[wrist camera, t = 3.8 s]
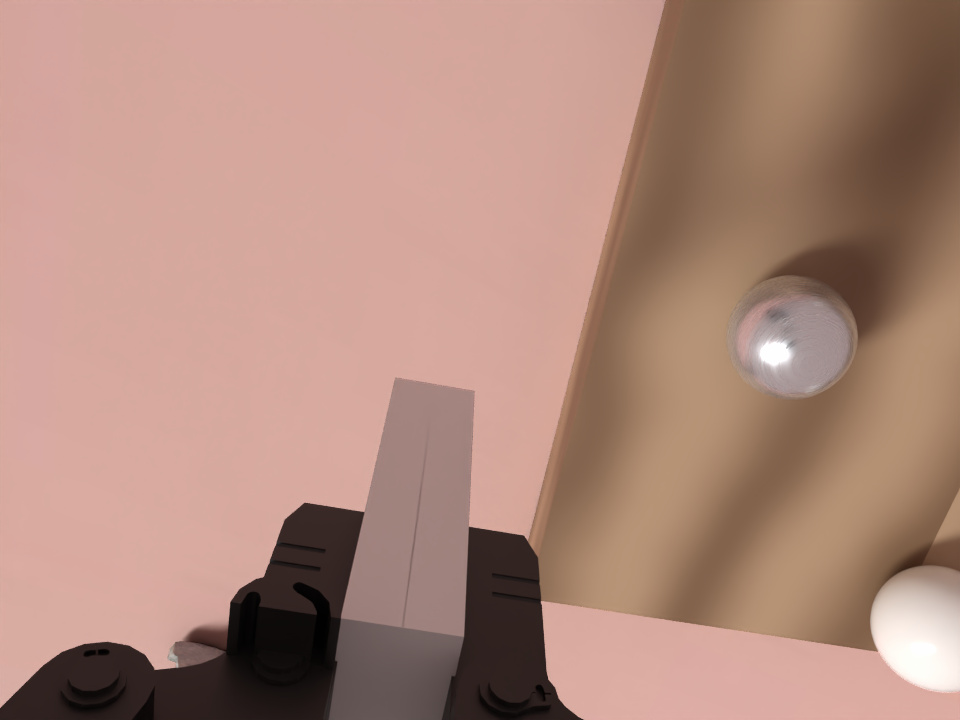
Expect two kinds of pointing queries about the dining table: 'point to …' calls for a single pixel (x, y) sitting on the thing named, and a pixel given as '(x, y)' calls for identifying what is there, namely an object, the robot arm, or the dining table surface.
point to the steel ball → (791, 337)
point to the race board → (715, 292)
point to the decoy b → (920, 626)
